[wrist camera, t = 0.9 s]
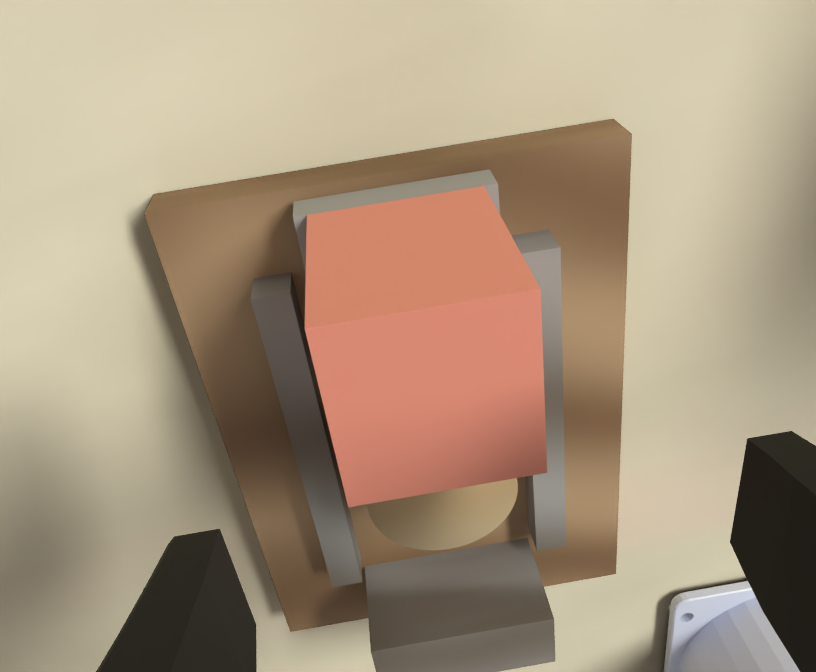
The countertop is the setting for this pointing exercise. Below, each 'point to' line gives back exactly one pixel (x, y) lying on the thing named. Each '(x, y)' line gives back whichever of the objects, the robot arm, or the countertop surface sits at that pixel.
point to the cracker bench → (307, 424)
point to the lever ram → (423, 337)
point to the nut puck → (445, 515)
